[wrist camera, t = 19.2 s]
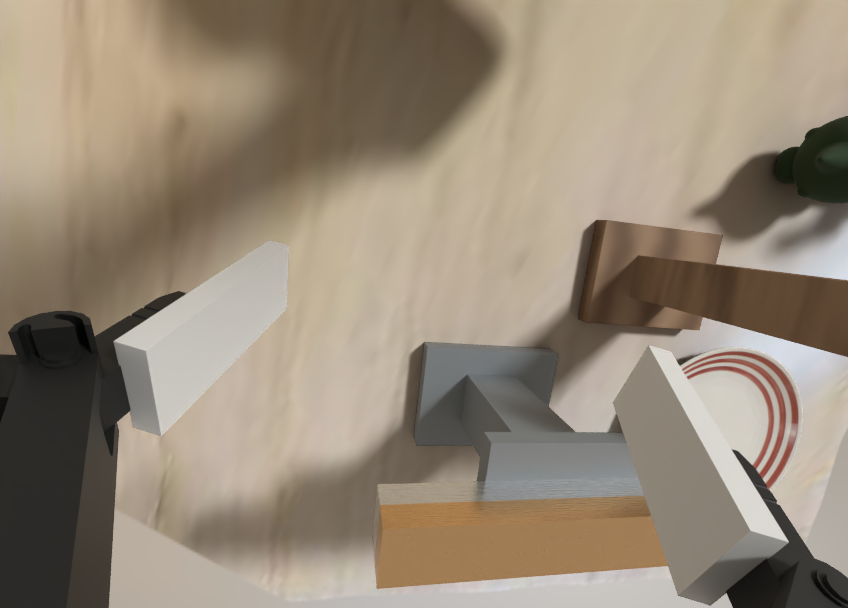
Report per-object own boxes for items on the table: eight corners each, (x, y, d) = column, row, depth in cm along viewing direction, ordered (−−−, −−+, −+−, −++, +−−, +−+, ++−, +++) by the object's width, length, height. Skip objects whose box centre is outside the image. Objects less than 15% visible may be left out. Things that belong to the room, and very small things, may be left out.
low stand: (413, 436, 48) (457, 579, 29) (424, 342, 46) (479, 429, 27) (534, 436, 52) (645, 565, 33) (550, 348, 50) (679, 430, 30)
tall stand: (577, 318, 49) (902, 458, 21) (596, 220, 47) (989, 222, 18) (686, 326, 53) (1097, 456, 24) (708, 234, 50) (1192, 255, 22)
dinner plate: (585, 504, 56) (600, 521, 53) (657, 320, 52) (677, 327, 49) (734, 526, 62) (755, 542, 59) (807, 364, 58) (834, 372, 55)
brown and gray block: (372, 536, 27) (376, 588, 23) (377, 484, 26) (382, 529, 23) (650, 522, 32) (692, 563, 28) (661, 477, 31) (705, 513, 27)
